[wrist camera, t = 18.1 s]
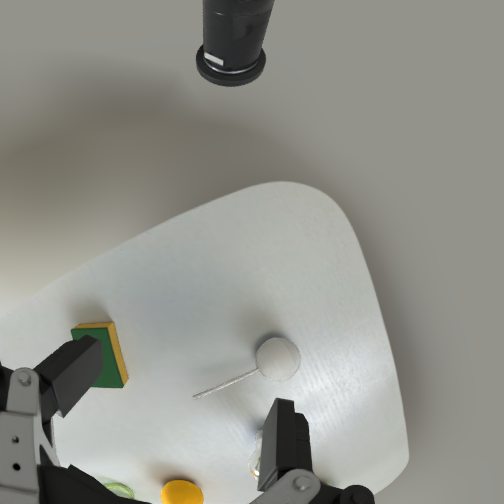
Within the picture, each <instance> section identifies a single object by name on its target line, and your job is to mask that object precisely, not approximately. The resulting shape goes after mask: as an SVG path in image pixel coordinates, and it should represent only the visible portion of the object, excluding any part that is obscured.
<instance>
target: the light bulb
mask: <svg viewBox="0 0 504 504" xmlns="http://www.w3.org/2000/svg"><path fill="white" fill-rule="evenodd" d="M262 435H263V429H260V430H259V431H258V432H257V433H256V435H255V439H256V449H255V450H254V451H253V453H252V454H251V456H250V459H249V470H250V473H251V475H252V476H253V477H254V479H256V480H257V481H258V479H259V469H260V458H261V447H262Z"/></svg>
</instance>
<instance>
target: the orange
mask: <svg viewBox="0 0 504 504" xmlns="http://www.w3.org/2000/svg"><path fill="white" fill-rule="evenodd" d="M161 500H162V502H163V504H203V500H204V497H203V494H202V491H201V490H200V489H199V488H198V487H197V486H196V485H195V484H193V483H191V482H188V481H184V480H174V481H171V482H168V483H167V484H166V485H165V486H164V487H163V489H162V492H161Z"/></svg>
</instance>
